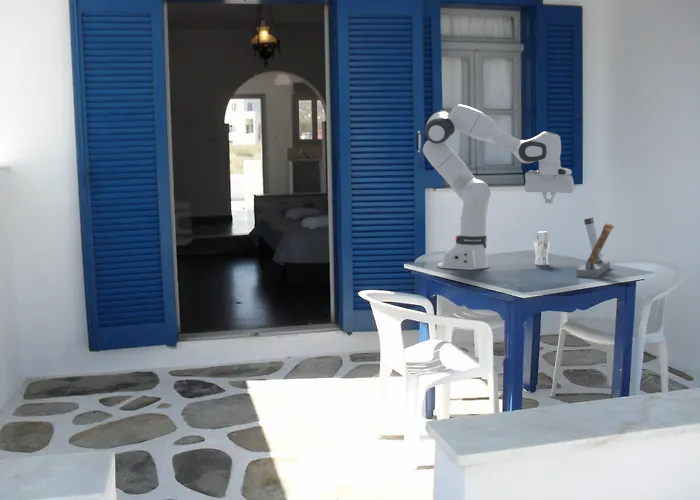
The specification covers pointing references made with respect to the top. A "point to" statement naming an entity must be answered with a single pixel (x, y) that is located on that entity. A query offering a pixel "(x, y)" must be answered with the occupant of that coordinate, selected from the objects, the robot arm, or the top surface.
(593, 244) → the metal lever
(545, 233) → the beer glass
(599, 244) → the walnut lever
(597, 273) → the plinth
